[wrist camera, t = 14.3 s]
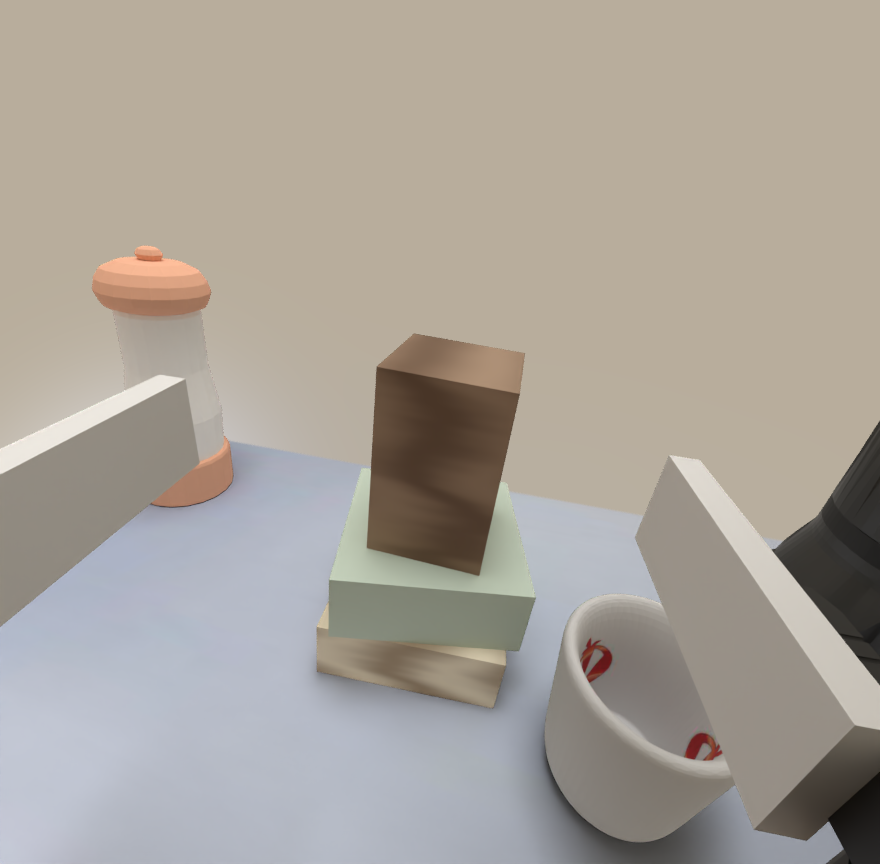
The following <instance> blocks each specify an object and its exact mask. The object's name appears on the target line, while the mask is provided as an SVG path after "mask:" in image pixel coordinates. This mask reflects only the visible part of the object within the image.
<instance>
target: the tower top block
mask: <svg viewBox="0 0 880 864" xmlns="http://www.w3.org/2000/svg"><path fill="white" fill-rule="evenodd" d="M370 478H371V469H367V468H362V469H361V473H360V476H359V479H358V483H357V486H356V490H355V493H354V496H353V500H352V503H351V507H350V510H349V513H348V517H347V520H346V524H345V527H344V530H343V534H342V537H341V541H340V544H339V547H338V551H337V554H336V558H335V561H334V564H333V568H332V571H331V575H330V578H329V626H328V636H329V637H342V638H355V639H368V640H380V641H393V642H406V643H419V644H432V645H444V646H457V647H470V648H483V649H495V650H508V651H519V649H520V646H521V643H522V640H523V637H524V634H525V630H526V627H527V624H528V621H529V618H530V614H531V611H532V608H533V605H534V602H535V599H536V596H535V592H534V588H533V585H532V581H531V577H530V573H529V569H528V565H527V561H526V557H525V553H524V549H523V545H522V541H521V537H520V533H519V530H518V526H517V522H516V518H515V514H514V510H513V506H512V502H511V498H510V494H509V490H508V486H507V483H504V482H500V485H499V489H498V494H497V498H496V503H495V507H494V512H493V516H492V521H491V525H490V530H489V534H488V539H487V543H486V548H485V552H484V557H483V561H482V566H481V570H480V575H479V576H477V575H473V574H469V573H465V572H461V571H457V570H453V569H449V568H445V567H441V566H437V565H433V564H429V563H425V562H421V561H417V560H413V559H409V558H405V557H401V556H397V555H393V554H389V553H385V552H381V551H377V550H373V549H369V548H367V532H368V514H369V496H370Z"/></svg>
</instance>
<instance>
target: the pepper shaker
mask: <svg viewBox="0 0 880 864" xmlns="http://www.w3.org/2000/svg"><path fill="white" fill-rule="evenodd" d="M134 253H135V255H136V256H137V257H122V258H116V259H114V260H112V261H109V262H107V263H105V264H102V265H100V266H99V267H98V269H97V270H96V272H95V274H94V276H93V284H92V290H93V292H94V294H95V295H96V297H97V298H98V300H99V301H100V302H101V304H102V305H103V306H105V307H107V308H109V309H112V310H113V316H114V320H115V325H116V330H117V334H118V339H119V344H120V349H121V354H122V359H123V364H124V384H125V390H127V389H130V388H132V387H134V386H136V385H138V384H140V383H142V382H145V381H147V380H149V379H151V378H153V377H155V376H157V375H165V376H171V377H178V378H184V379H186V385H187V391H188V397H189V403H190V408H191V414H192V420H193V426H194V432H195V438H196V444H197V450H198V455H199V461H200V463H199V464H198V465H197V466H196V467H195V468H193V469H192V470H191V471H190V472H189V473H187V474H186V475H185V476H184V477H182V478H181V479H180V480H179V481H178V482H176V483H175V484H174V485H173V486H171V487H170V488H169V489H168V490H167V491H165V492H164V493H163V494H162V495H160V496H159V497H158V498H157V499H156V500H154V501H153V502H152V503H151V504H154V505H157V506H166V507H177V506H188V505H192V504H196V503H201V502H204V501H206V500H209V499H211V498H213V497H216V496H217V495H219V494H220V493H222V492H223V491H225V490H226V489H227V488H228V487H229V485H230V484H231V483H232V479H233V468H232V460H231V451H230V444H229V442H228V440H227V438H226V437H225V436H224V432H223V420H222V408H221V403H220V400H219V397H218V394H217V391H216V387H215V384H214V381H213V378H212V374H211V371H210V368H209V365H208V359H207V351H206V344H205V336H204V329H203V322H202V315H201V311H200V309H203V308H205V307H206V305H207V304H208V301H209V299H210V295H211V289H210V287H209V285H208V282H207V280H206V279H205V278H204V276H203V275H202V274H201V273H200V271H198V270H197V269H196V268H194V267H191V266H189V265H187V264H185V263H183V262H181V261H177V260H172V259H165V258H162V256H163V254H162V253H161V251H160V250H159V249H157V248H155V247H153V246H140V247H138V248H136V250H135V252H134Z"/></svg>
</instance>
